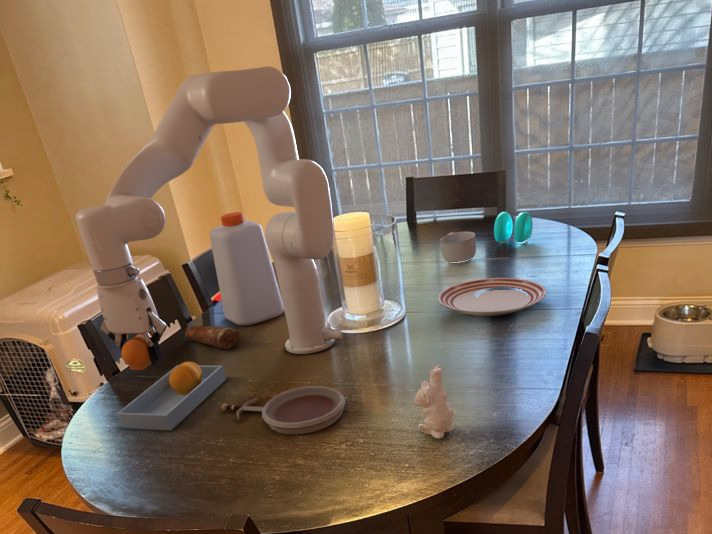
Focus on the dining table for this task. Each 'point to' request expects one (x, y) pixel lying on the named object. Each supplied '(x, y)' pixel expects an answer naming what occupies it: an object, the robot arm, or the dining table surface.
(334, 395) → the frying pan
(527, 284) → the dinner plate
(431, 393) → the pink rabbit figurine
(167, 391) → the baking pan
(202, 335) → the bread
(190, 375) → the mango
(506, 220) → the teal twin oval discs
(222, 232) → the plastic bottle
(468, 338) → the dining table surface
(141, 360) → the mango
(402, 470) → the dining table surface
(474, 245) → the teacup
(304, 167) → the robot arm
